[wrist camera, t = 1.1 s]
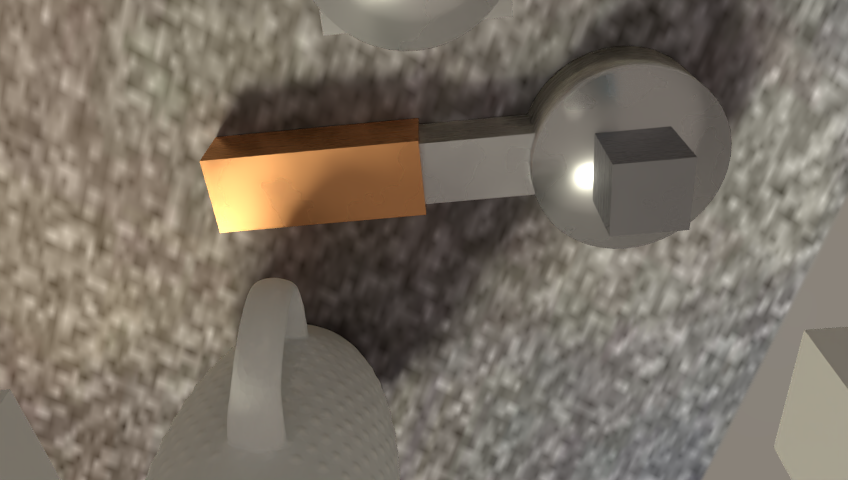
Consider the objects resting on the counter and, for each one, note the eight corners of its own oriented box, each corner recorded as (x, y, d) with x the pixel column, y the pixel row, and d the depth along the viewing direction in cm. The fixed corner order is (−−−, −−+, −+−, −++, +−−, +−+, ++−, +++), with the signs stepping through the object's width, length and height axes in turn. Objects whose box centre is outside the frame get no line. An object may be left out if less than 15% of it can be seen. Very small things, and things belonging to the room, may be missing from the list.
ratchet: (202, 86, 29) (156, 141, 24) (714, 36, 29) (780, 82, 23) (244, 247, 34) (213, 322, 28) (695, 207, 33) (747, 278, 27)
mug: (173, 217, 33) (44, 421, 21) (407, 221, 33) (399, 425, 22) (215, 442, 40) (136, 679, 29) (404, 444, 40) (398, 681, 29)
